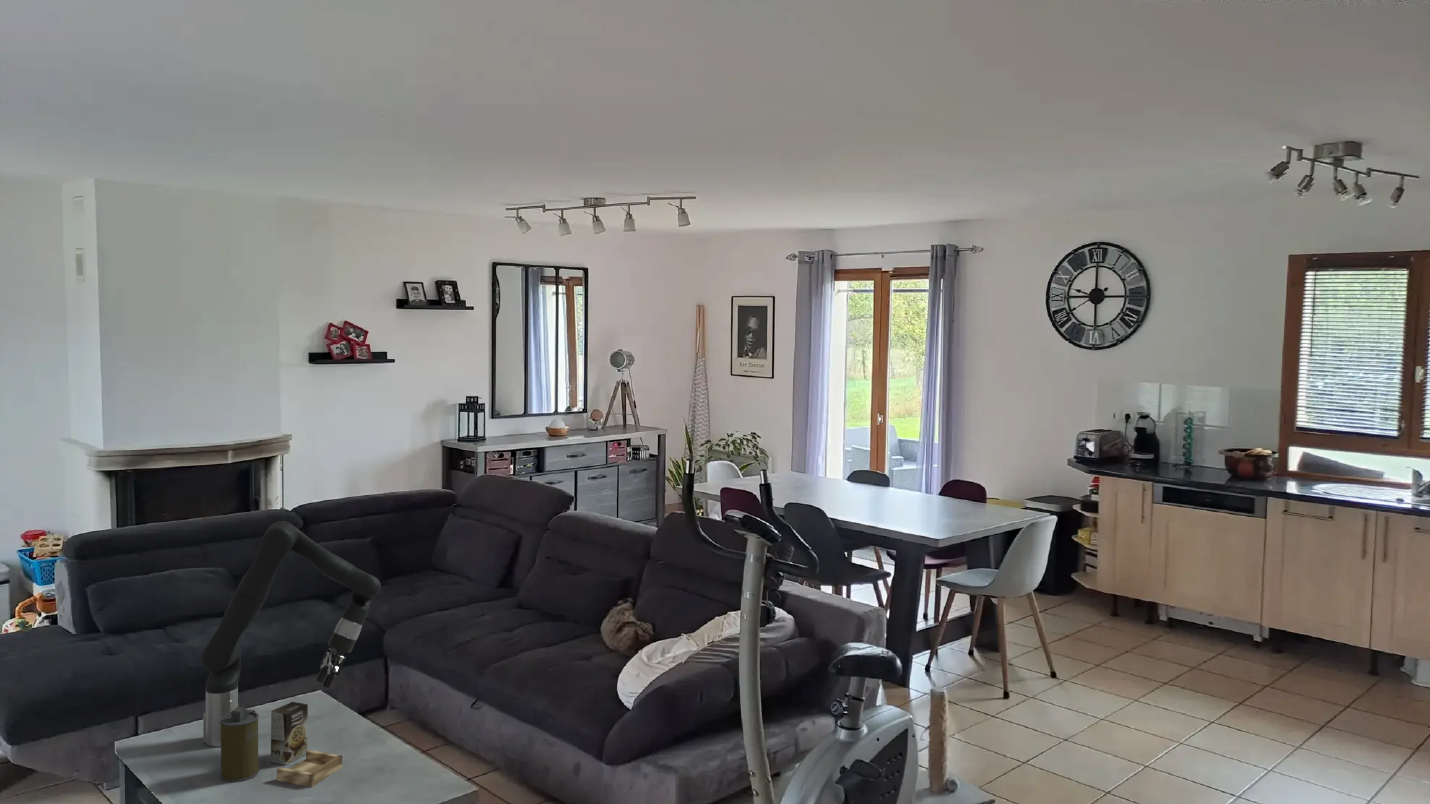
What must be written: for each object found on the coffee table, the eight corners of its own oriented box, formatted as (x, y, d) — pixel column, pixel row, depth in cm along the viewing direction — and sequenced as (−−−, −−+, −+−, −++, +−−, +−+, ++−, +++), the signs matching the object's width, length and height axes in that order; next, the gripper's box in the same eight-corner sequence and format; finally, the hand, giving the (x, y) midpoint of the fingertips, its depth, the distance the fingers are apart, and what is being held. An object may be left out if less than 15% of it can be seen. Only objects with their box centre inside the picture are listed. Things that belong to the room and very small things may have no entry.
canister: (243, 784, 290) (243, 717, 289) (212, 779, 292) (211, 713, 291) (267, 768, 301) (267, 703, 299) (237, 764, 303) (236, 700, 301)
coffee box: (286, 765, 303) (286, 714, 302) (270, 761, 305) (269, 710, 304) (308, 754, 311) (308, 703, 310) (292, 750, 314) (292, 700, 313)
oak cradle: (277, 780, 293) (276, 768, 293) (308, 761, 306) (308, 749, 306) (311, 787, 290) (311, 775, 289) (342, 767, 303) (342, 755, 303)
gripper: (329, 627, 323) (305, 676, 318) (340, 634, 311) (316, 685, 307) (350, 635, 327) (327, 683, 322) (362, 642, 315) (338, 692, 310)
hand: (322, 684), depth 314 cm, fingers open, 8 cm apart
